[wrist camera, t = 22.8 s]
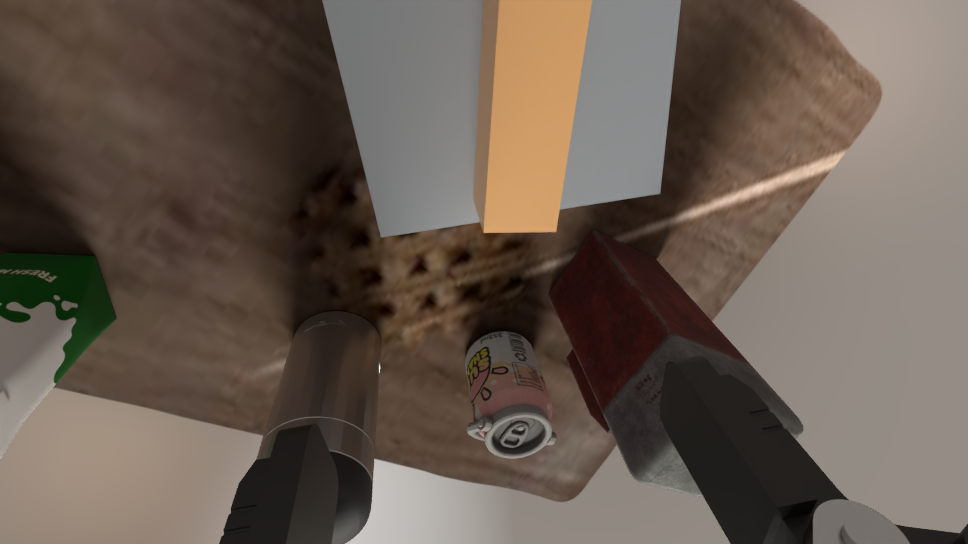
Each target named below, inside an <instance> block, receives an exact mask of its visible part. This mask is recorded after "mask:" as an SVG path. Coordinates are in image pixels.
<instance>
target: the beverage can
mask: <svg viewBox="0 0 968 544" xmlns="http://www.w3.org/2000/svg"><path fill="white" fill-rule="evenodd" d="M465 367H466V374H467V380H468V386H469V393H470V399H471V405H472V412H473V418H474V422H473V423H470V424H469V425H468V428H467V432H468V434H469V435H471V436H472V437H474V438H476V439H479V440H482V441H485V444H486V446H487V448H488V450H489V451H490V452H492V453H493V454H494V455H497V456H499V457H502V458H512V459H514V458H522V457H526V456H528V455H531V454H534V453H535V452H537V451H539V450H540V449H542V448H543V447H544V446H545V445H553V444H554V443H555V441H556V434H555V433H554V432H552V426H551V423H550V420H551V418H552V410H553V406H552V403H551V400H550V397H549V394H548V391H547V389H546V386H545V383H544V380H543V377H542V374H541V371H540V368H539V366H538V363H537V360H536V357H535V354H534V351H533V349H532V346H531V344H530V343H529V342H528V341H527V340H526V339H525V338H524V337H523V336H521V335H519V334H517V333H514V332H508V331H499V332H492V333H490V334H487V335H484V336H483V337H481V338H480V339H478V340H477V341H475V342H474V344H473V345H472V346H471V347H470V348H469V350H468V353H467V355H466V358H465Z"/></svg>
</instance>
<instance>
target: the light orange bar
mask: <svg viewBox="0 0 968 544" xmlns="http://www.w3.org/2000/svg"><path fill="white" fill-rule="evenodd" d="M591 5H592V0H484V3H483V22H482V41H481V60H480V79H479V98H478V117H477V136H476V154H475V173H474V192H473V201H474V204H475V207H476V211H477V214H478V217H479V220H480V223H481V226H482V230H483V233H510V232H556V229H557V223H558V216H559V210H560V203H561V197H562V191H563V184H564V178H565V171H566V165H567V159H568V152H569V146H570V139H571V133H572V127H573V120H574V114H575V108H576V101H577V95H578V88H579V82H580V76H581V69H582V63H583V56H584V50H585V44H586V37H587V31H588V25H589V18H590V12H591Z"/></svg>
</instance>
